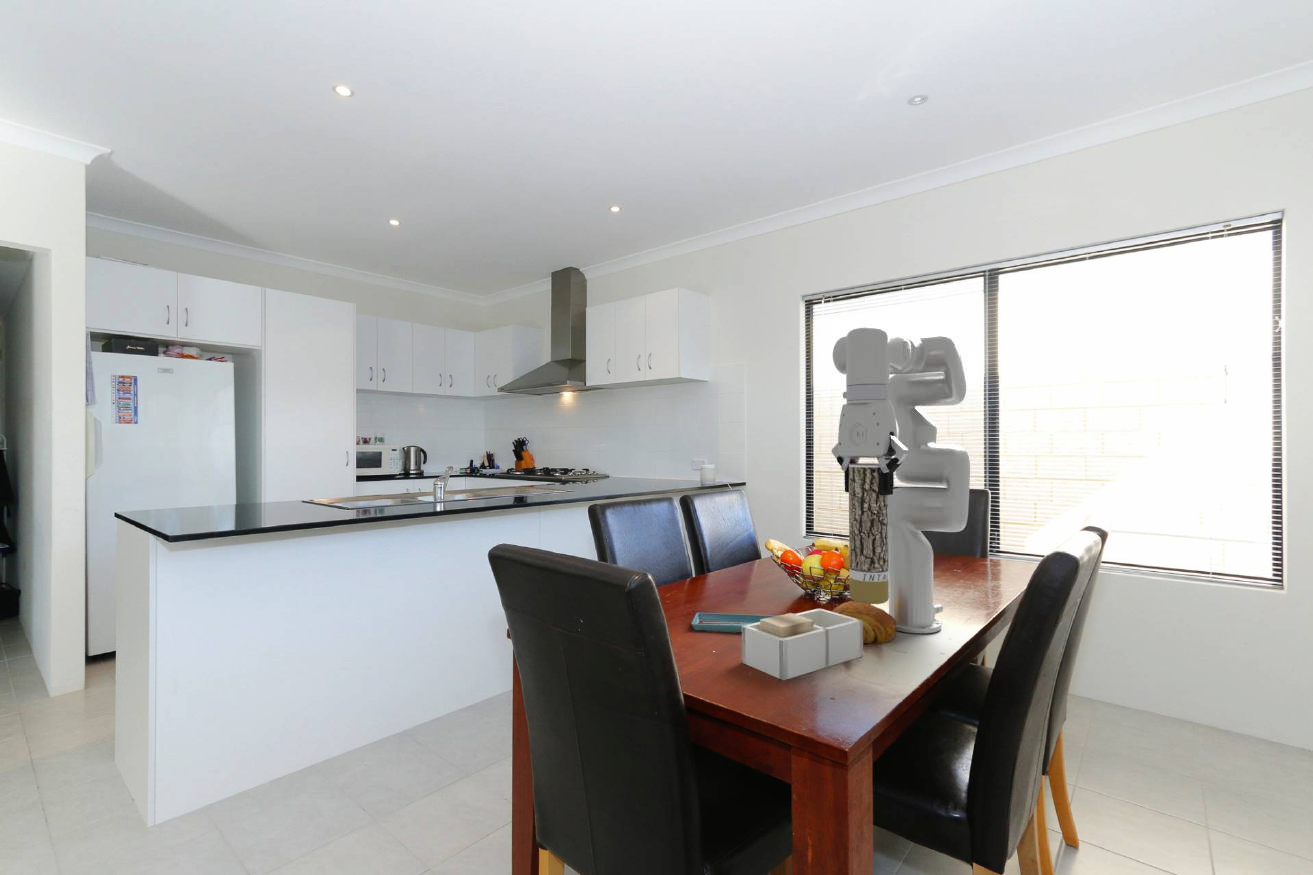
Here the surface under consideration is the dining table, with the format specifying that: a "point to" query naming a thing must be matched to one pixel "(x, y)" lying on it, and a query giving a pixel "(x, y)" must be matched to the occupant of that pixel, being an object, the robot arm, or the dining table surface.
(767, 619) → the offcut top
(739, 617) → the teal serving tray
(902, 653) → the dining table surface
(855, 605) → the croissant
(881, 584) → the bark print cylinder
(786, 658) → the divided box
